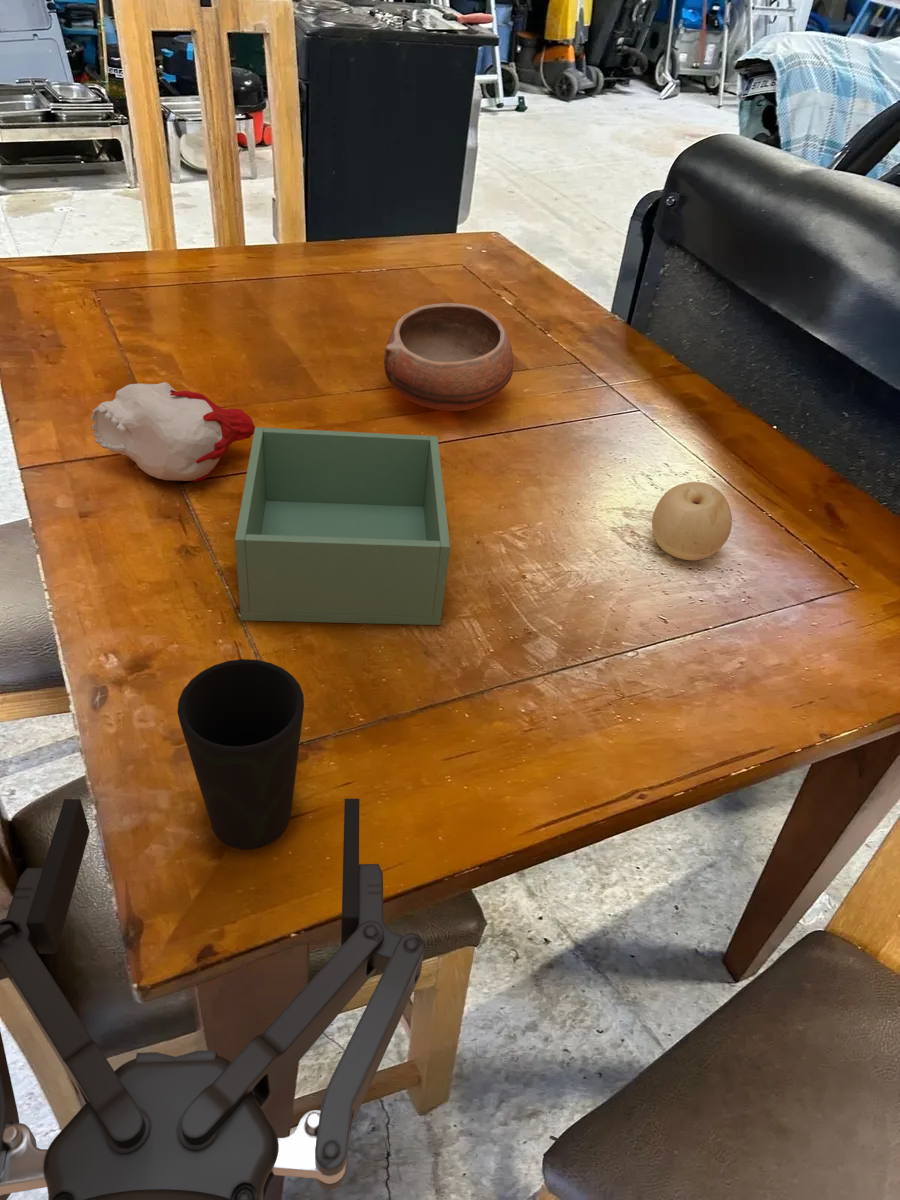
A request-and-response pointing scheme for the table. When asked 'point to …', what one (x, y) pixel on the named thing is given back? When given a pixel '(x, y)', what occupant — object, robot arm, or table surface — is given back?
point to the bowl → (448, 356)
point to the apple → (692, 521)
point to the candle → (169, 430)
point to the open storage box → (342, 528)
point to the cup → (244, 747)
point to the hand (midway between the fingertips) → (216, 814)
